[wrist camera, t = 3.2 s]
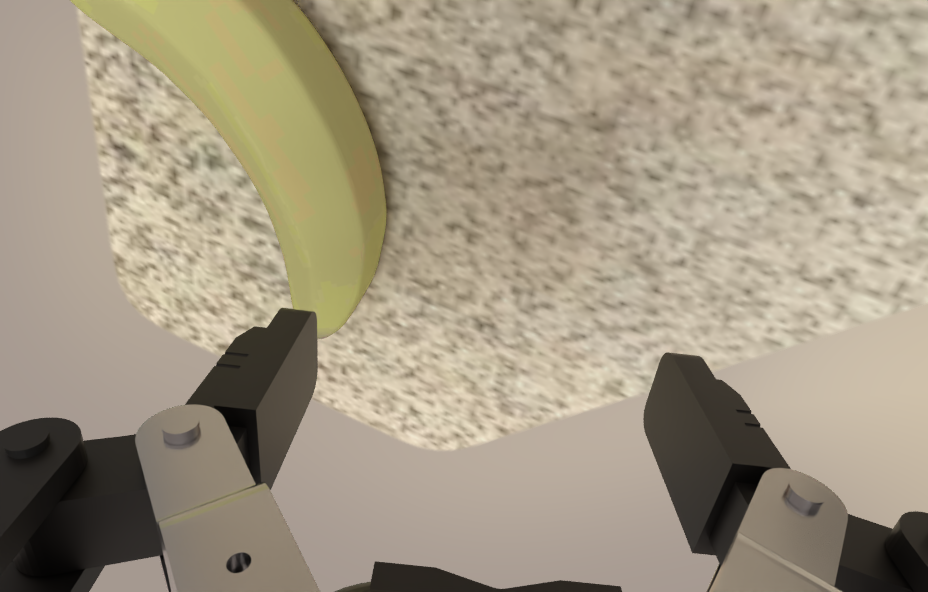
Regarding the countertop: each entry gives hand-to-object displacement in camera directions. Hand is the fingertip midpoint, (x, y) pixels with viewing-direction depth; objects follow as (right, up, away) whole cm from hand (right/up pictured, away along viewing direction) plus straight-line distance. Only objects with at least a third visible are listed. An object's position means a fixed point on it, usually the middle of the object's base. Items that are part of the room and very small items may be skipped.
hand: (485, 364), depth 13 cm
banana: (-3, +3, +11) cm, 12 cm away
